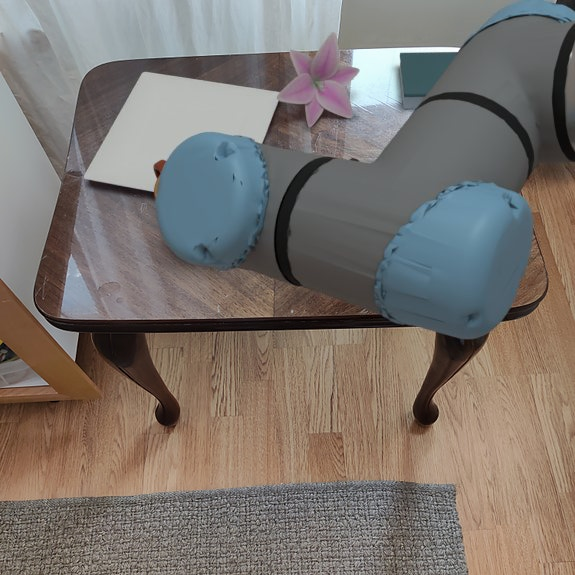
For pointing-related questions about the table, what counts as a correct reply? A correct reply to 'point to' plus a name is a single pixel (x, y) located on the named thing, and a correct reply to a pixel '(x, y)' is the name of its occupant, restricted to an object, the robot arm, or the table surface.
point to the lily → (320, 82)
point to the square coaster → (421, 74)
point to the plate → (175, 124)
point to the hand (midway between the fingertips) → (447, 237)
